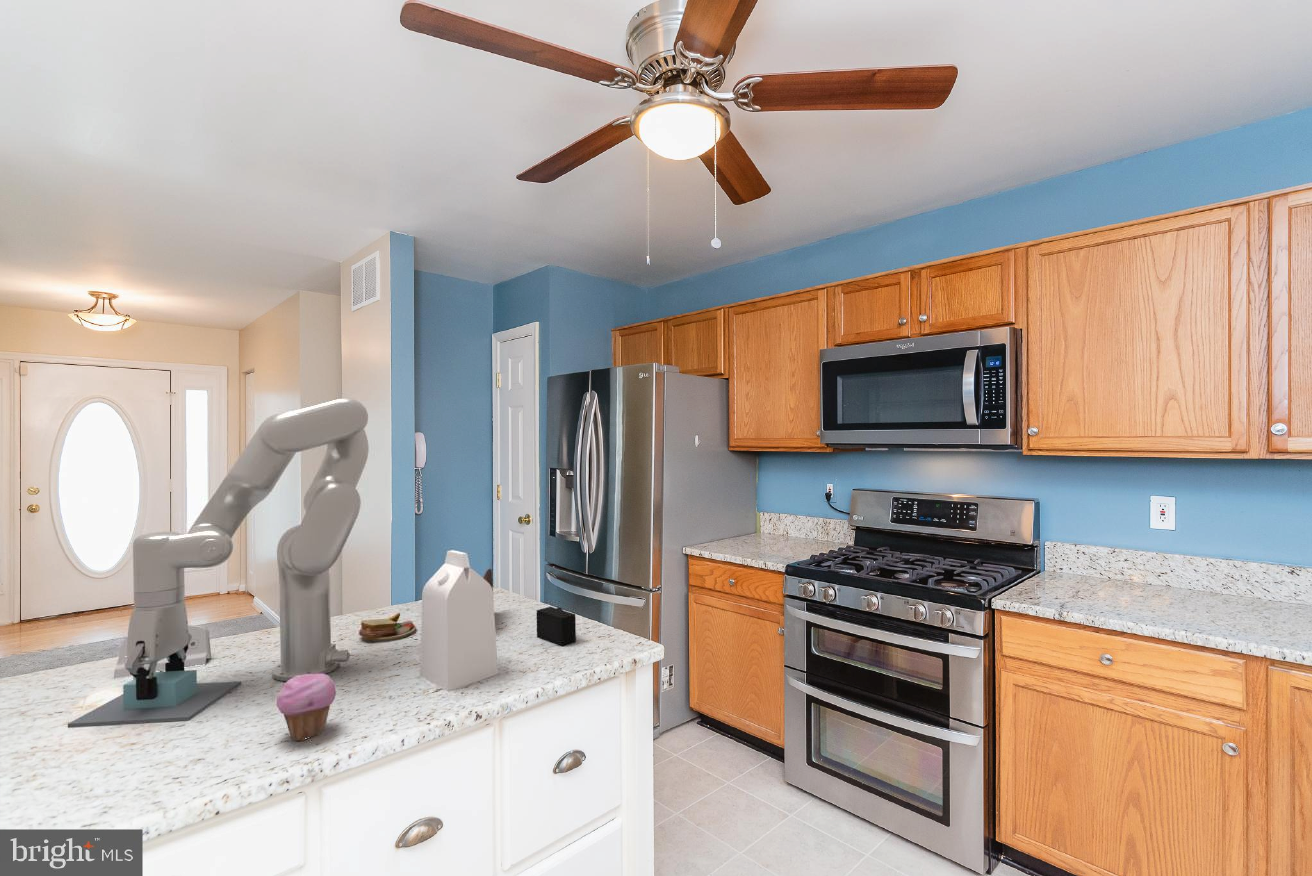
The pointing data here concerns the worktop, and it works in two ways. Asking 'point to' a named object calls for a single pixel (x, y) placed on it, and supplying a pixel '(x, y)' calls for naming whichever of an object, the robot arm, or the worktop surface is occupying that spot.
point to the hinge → (194, 656)
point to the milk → (457, 626)
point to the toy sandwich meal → (386, 629)
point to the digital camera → (556, 626)
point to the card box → (164, 690)
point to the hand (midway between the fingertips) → (161, 689)
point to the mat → (156, 708)
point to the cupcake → (306, 704)
